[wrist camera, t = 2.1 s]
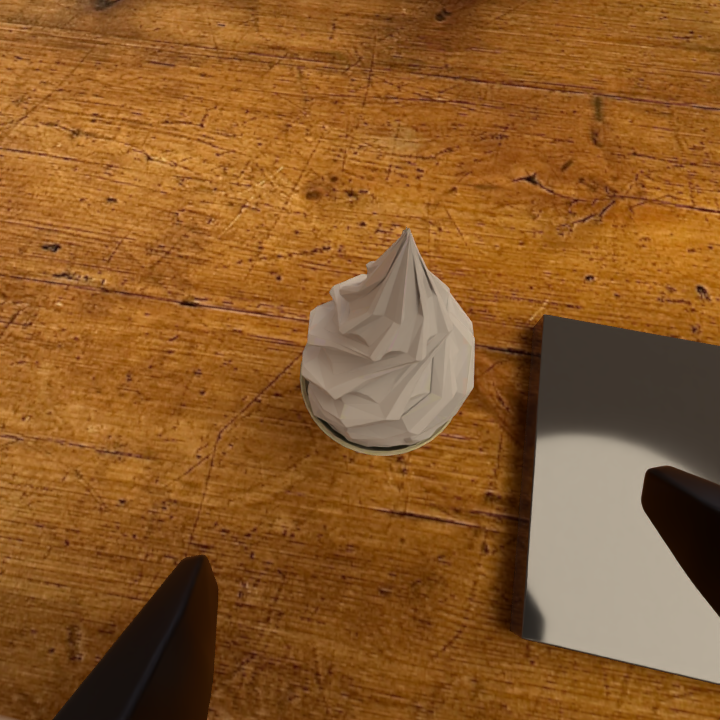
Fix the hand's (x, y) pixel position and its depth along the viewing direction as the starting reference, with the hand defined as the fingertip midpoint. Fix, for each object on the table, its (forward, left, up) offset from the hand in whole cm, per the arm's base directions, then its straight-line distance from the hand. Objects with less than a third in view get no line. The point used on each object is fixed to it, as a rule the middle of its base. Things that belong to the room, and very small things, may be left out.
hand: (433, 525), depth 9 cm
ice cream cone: (+4, +2, -12) cm, 13 cm away
